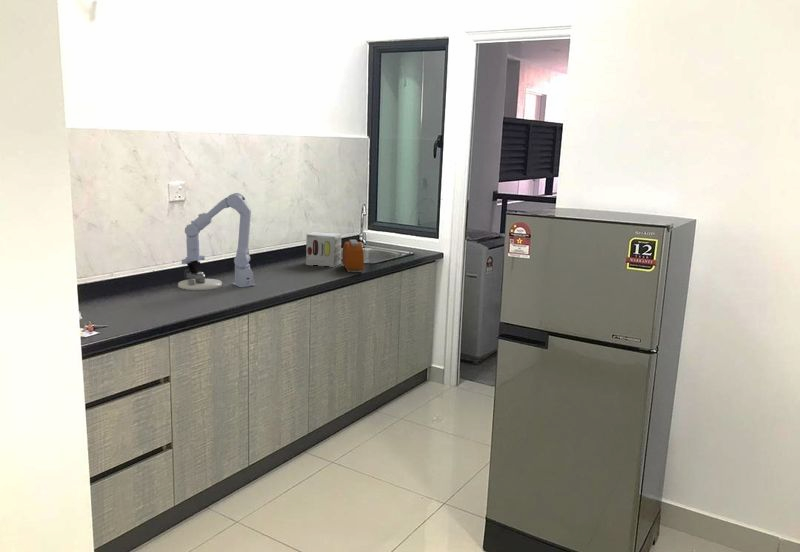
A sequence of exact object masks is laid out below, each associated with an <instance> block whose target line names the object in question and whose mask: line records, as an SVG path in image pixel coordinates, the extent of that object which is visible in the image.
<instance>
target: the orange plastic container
mask: <svg viewBox="0 0 800 552" xmlns="http://www.w3.org/2000/svg"><path fill="white" fill-rule="evenodd" d="M364 256H365V255H364V247H363V244H362V242H360V241H357V239H349V240H348V241H345V242H344V243H343V246H342V253H341V263H342V265H343V267H344V266H345V267H344V268H345V269H346V270H347V271H348V272H347V271H346V272H347V273H362V271H364V264H365V258H364Z"/></svg>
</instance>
